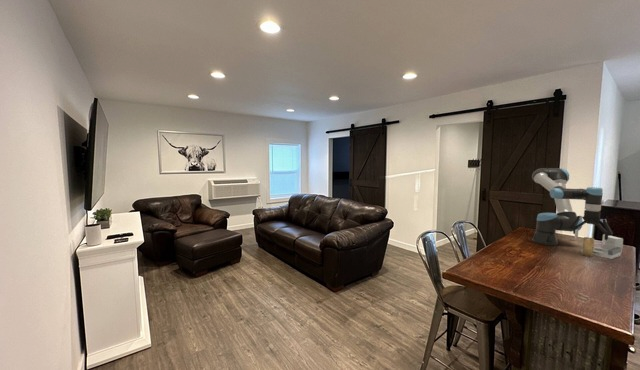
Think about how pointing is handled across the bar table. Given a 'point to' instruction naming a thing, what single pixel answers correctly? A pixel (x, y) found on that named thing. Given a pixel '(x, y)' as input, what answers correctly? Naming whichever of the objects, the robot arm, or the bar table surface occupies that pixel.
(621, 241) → the small box
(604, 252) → the plate
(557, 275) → the bar table surface
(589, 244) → the bushing
